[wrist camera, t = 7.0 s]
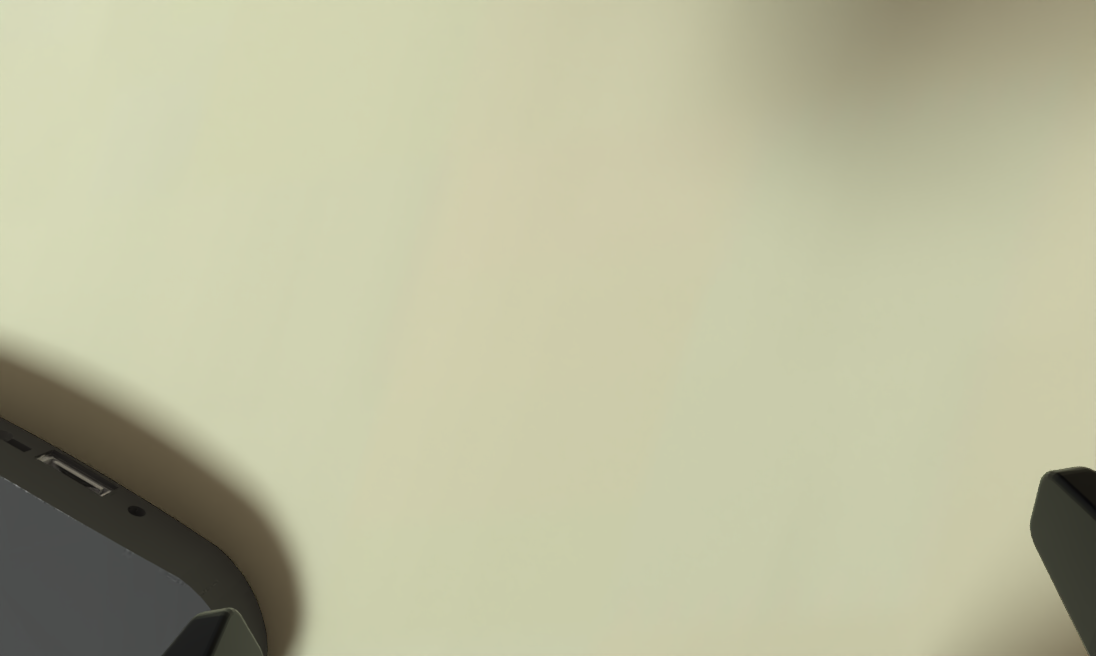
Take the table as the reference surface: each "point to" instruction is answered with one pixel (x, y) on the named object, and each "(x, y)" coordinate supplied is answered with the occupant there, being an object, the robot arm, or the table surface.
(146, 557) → the media streaming box
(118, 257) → the table surface
